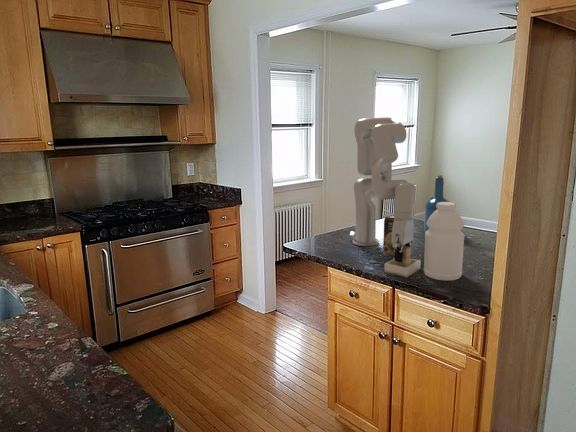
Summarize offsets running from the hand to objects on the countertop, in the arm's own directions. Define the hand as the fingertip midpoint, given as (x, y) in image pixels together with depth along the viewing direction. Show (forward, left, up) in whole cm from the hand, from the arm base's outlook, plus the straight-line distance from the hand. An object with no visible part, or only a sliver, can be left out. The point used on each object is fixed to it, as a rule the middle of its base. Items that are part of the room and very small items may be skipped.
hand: (402, 258), depth 170 cm
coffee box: (-13, +17, -5) cm, 22 cm away
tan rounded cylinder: (0, 0, -4) cm, 4 cm away
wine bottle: (-12, +61, -5) cm, 62 cm away
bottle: (+14, +5, -5) cm, 16 cm away
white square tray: (0, 0, -5) cm, 5 cm away
